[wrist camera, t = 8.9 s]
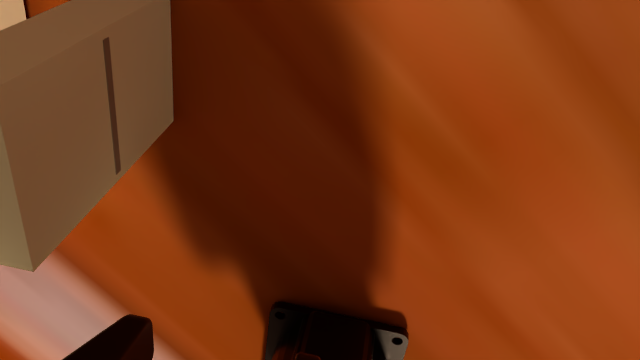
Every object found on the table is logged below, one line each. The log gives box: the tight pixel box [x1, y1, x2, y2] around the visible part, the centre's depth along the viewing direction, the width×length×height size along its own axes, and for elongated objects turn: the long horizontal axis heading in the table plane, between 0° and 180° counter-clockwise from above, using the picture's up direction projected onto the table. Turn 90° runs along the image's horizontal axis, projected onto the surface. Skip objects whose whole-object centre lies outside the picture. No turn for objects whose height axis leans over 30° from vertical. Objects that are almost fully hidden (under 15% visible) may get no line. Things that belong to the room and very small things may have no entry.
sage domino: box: [0, 0, 174, 272], centre depth 16 cm, size 2×5×9 cm, turn 174°
